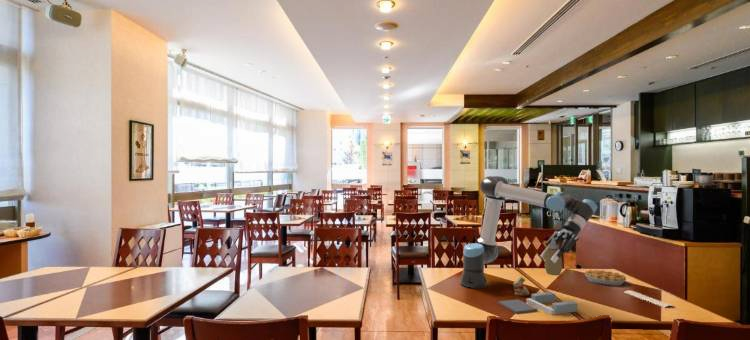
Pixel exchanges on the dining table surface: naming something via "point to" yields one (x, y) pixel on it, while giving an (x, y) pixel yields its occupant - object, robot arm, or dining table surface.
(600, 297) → the dining table surface
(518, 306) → the rubber mat
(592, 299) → the dining table surface
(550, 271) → the squeeze bottle
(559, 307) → the grey u-shaped frame
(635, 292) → the newspaper
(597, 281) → the pie
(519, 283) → the chocolate bunny
